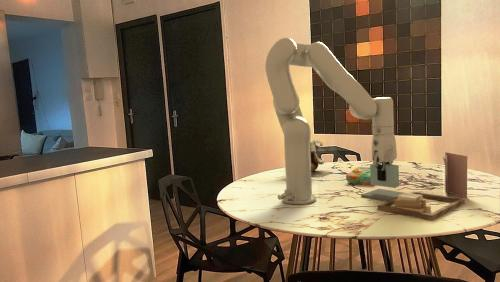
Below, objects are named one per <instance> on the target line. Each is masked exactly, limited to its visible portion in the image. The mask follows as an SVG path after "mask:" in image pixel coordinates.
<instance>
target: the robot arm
mask: <svg viewBox="0 0 500 282" xmlns="http://www.w3.org/2000/svg"><path fill="white" fill-rule="evenodd" d="M266 55H267V56H266V60H265V74H266V75H265V76H266V78H267V81H268V85H269V89H270V91H271V95H272V102H273V103H272V105H273V107H274V111H275V114H276V117H277V119H278V123H279V126H280V129H281V132H282V133H283V136H284V137H283V139H284V144H283V145H284V147H283V148H284V163H285V164H284V165H285V167H284V168H285V184H286V185H285V186H286V187H285V188H286V189H284V192H283V193H280V194H278V195H277V199H278V200H279V201H280V200H281V201H283V202H284V203H286V204H290V205H306V204H307V205H308V204H312V203H314V202H316V201H317V196H316V195H315V194H313V189H312V188H313V186H312V177H311V158H310V142H311V135H312V134H311V133H312V132H311V126H310V124H309V123H308V121H307V119H305V118H304V116H303V113H302V110H301V108H300V97H299V95H298V93H297V90H296V87H295V85H294V81H293V78H292V75H291V72H290V66H296V67H304V68H305V67H306V68H312V69H313V70H314V72H316V74H317V75H318V76H319V77H320V79H321V80H322V81H323V82H324V83H325V85H326V86H327V87H328V88H330V90H332V91H334V92H335V93H336V94H338V95H339V96H340V97H341V98H342V99H344V100H345V102H347V104H348V110H349V112H350V113H349V114H351V116H353V117H354V118H356V119H361V120H369V119H371V121H372V122H371V123H372V129H371V130H372V142H371V159H372V163H373V165H374V166H375V167H376V170H377V180H379V181H386V170H384V169H385V164H393V162H394V161H395V160H396V159H397V158H398V157H397V156H398V153H397V142H396V136H395V125H394V121H395V120H394V117H395V116H394V100H393V98H392V97H391V96H390V97H389V96H388V97H387V96H386V97H385V96H384V97H383V96H382V97H375V98H373V97H372V96H371V95H370V94H369V92H368V91H367V90H366V89H365V88H364V87H363V85H361V83H359V82H358V81H357V80H356V79H355V78H354V77H353V75H351V74H350V73H349V72H348V71H347V70H346V69H345V68H344V66H343V65H342V63H340V61H339V60H338V59H337V58H336V56H335V54H333V53H332V51H331V50H329V48H328V46H326V45H325V44H324V43H323V42H320V41H315V42H313V43H310V44H306V43H305V44H304V43H296V42H295V41H294V40H293V39H291V38H290V37H282V38H280V39H278V40H277V41H276V42H275V43H274V44H273V45H272V46H271V48H270V49H269V51H268V53H267V54H266ZM379 163H380V164H379ZM381 164H382V166H381Z"/></svg>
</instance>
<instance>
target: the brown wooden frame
mask: <svg viewBox="0 0 500 282" xmlns="http://www.w3.org/2000/svg"><path fill="white" fill-rule="evenodd" d="M409 193H412V194H418V195H423V199H429V200H434V201H440V202H441V201H442V202H445V203H446V202H448V203H450V204H447V205H445V206H444V207H441V208H439V209H437V210H436V211H434V212H431V213H422V212H416V211H411V210H406V209H400V208H395V207H391V205H394V204H395V200H396V199H398V198H395V199H392V200H390V201H384V202H382V203H380V204H377V210H378V211H382V212H388V213H393V214H397V215H401V216H402V215H403V216H407V217H412V218H419V219H421V220H428V221H433V220H437V218H439V217H442V216H444V215H445V214H447V213H449V212H451V211H453V210H455V209H457V208H459V207H461V206H463V205H465V203H466V199H465V198H459V197H453V196H448V195H447V196H446V195H439V194H433V193H426V192H420V191H410V192H409Z"/></svg>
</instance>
